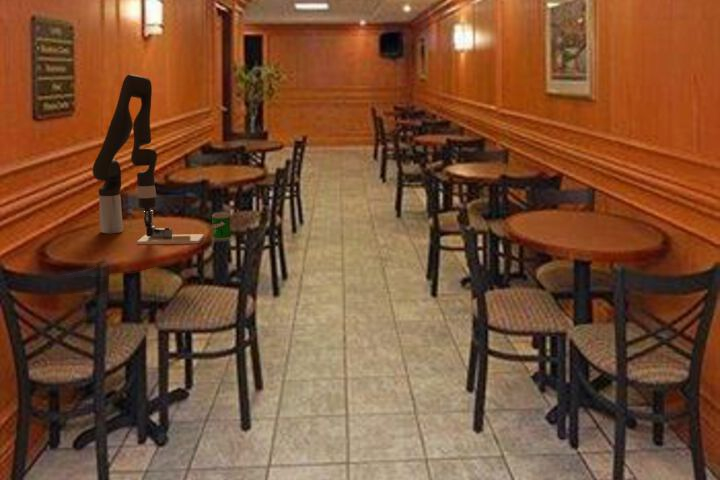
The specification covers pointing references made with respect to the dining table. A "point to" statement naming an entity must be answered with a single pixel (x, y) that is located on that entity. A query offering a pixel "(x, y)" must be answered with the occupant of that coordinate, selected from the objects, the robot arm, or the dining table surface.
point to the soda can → (221, 226)
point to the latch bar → (161, 232)
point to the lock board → (172, 239)
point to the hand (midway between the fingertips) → (149, 235)
